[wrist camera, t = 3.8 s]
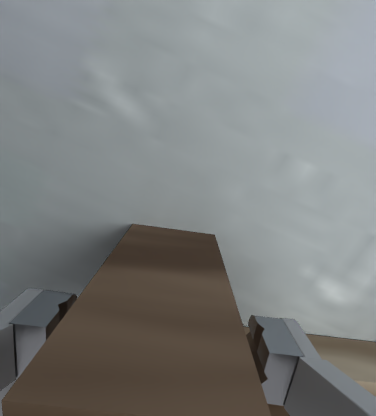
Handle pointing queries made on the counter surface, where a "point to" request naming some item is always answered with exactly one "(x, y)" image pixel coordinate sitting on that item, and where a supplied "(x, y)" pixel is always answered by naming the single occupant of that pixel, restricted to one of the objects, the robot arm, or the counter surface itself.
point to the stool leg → (147, 339)
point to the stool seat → (342, 361)
